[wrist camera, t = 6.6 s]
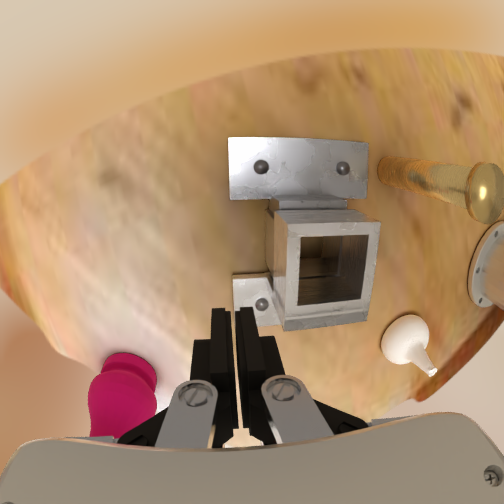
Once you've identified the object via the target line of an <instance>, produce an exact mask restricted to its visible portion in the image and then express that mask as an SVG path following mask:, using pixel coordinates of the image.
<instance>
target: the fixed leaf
mask: <svg viewBox="0 0 504 504" xmlns="http://www.w3.org/2000/svg"><path fill="white" fill-rule="evenodd" d="M228 161H229V199H230V200H244V199H269V210H265V261H266V264H267V266H268V268H269V270H270V272H271V275H272V277H273V279H274V211H279V210H347V200H344V199H342V198H358V199H366V198H367V179H368V143H364V142H353V141H342V140H328V139H310V138H283V137H233V138H228ZM342 245H343V235H339V236H323V242H322V257H321V258H305V259H300V264H299V279H312V278H325V277H337V276H340V267H341V256H342Z"/></svg>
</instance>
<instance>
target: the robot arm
mask: <svg viewBox="0 0 504 504" xmlns="http://www.w3.org/2000/svg"><path fill="white" fill-rule="evenodd" d="M468 291H469V295H470V298H471V300H472V301H473V302H474V303H475V304H476V305H477V306H479V307H489V306H491V305H493V304H495V305H497V306H498V307H499V308H501V309H502V310H504V221H500V222H497V223H496V224H494V225H493V226H492V227H491V228H490V229H489V230H488V231H487V232H486V233H485V235H484V236H483V237H482V239H481V241H480V243H479V244H478V246H477V249H476V251H475V253H474V256H473V259H472V262H471V266H470V270H469V277H468ZM235 332H236V352H237V369H238V380H239V390H240V400H241V410H242V420H243V428H249V433H250V436H254V437H255V438H257V439H259V440H260V441H261V446H251V447H236V448H225V444H224V443H225V442H227V441H228V440H229V439H230V438H232V437H233V429H239V426H238V412H237V397H236V382H235V367H234V354H233V341H232V327H231V312H230V311H225V308H212V317H211V339H203V340H194V346H193V355H192V364H191V374H190V381H186V382H184V383H182V384H180V385H179V386H178V387H177V388H176V390H175V391H174V394H173V396H172V399H171V402H170V405H169V407H167V408H166V409H164V410H163V411H161V412H159V413H158V414H156V415H155V416H153V417H151V418H150V419H148V420H146V421H145V422H143V423H141V424H140V425H138V426H136V427H134V428H133V429H131V430H129V431H128V432H126V433H124V434H123V435H122V436H121V437H120V438H117V439H114V437H113V436H101V437H66V438H44V439H36V440H32V441H29V442H26V443H25V444H22V445H21V446H20V447H19V448H18V449H17V450H16V451H15V452H14V453H13V455H12V456H11V458H10V460H9V461H8V463H7V464H6V466H5V468H4V470H3V472H2V474H1V476H0V504H504V456H503V454H502V453H501V452H500V450H499V449H498V448H497V446H496V445H495V444H494V442H493V441H492V440H491V438H490V437H489V436H488V435H487V434H486V432H485V431H484V430H483V429H482V428H481V427H480V426H479V425H478V424H477V423H476V422H474V421H473V420H472V419H471V418H469V417H468V416H466V415H463V414H460V413H452V412H437V413H428V414H421V415H415V416H407V417H397V418H386V419H371V422H369V423H366V422H365V421H363V420H361V419H360V418H357V417H355V416H352V415H350V414H347V413H345V412H342V411H340V410H338V409H335V408H333V407H330V406H328V405H326V404H323V403H321V402H319V401H316V400H314V399H312V397H311V395H310V394H309V392H308V390H307V388H306V387H305V385H304V384H303V383H302V381H301V380H299V379H298V378H296V377H293V376H290V375H285V371H284V368H283V364H282V361H281V357H280V354H279V350H278V347H277V343H276V340H275V337H274V336H263V337H259V334H258V329H257V324H256V319H255V315H254V310H253V307H240V311H235Z"/></svg>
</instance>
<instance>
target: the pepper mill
mask: <svg viewBox="0 0 504 504" xmlns="http://www.w3.org/2000/svg"><path fill="white" fill-rule="evenodd" d="M156 382H157V378H156V374H155V371H154V369H153V368H152V367H151V365H150V364H148V363H147V362H146V361H145V360H144V359H142V358H140V357H138V356H136V355H133V354H129V353H117V354H113V355H111V356H110V357H108V358H107V359H106V361H105V363H104V365H103V368H102V370H101V374H99V375H97V376H96V377H95V378H94V379H93V381H92V382H91V385H90V388H89V392H88V407H89V413H90V418H91V431H90V437H101V436H113V437H114V439H117V438H120V437H121V436H122V435H123V434H124V433H126V432H128V431H129V430H131V429H133V428H134V427H136V426H138V425H140V424H141V423H143V422H145V421H146V420H148V419H150V418H151V417H153V416H155V412H156V409H157V401H156V397H155V395H154V392H155V387H156Z"/></svg>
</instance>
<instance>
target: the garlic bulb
mask: <svg viewBox="0 0 504 504" xmlns="http://www.w3.org/2000/svg"><path fill="white" fill-rule="evenodd" d="M428 340H429V330H428V327H427V325H426V323H425V322H424V320H423V319H421V318H420V317H419V316H416V315H405V316H402V317H400V318H398V319H397V320H395V321H394V322H393V323H392V324H391V325H390V326H389V327H388V328H387V330H386V331H385V333H384V335H383V338H382V342H381V348H382V352H383V354H384V356H385V357H386V358H387V359H388V360H389V361H391V362H392V363H395V364H406V363H410V362H413V363H414V364H416V365H417V366H418V367H419V368H420V369H422V370H423V371H424V372H426V373H427V374H428V375H429V376H432V375H434V374H435V371H437V368H435V367H434V365H433V364H432V362H431V360H430V359H429V357H428V355H427V353H426V351H425V348H426V346H427V344H428Z"/></svg>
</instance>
